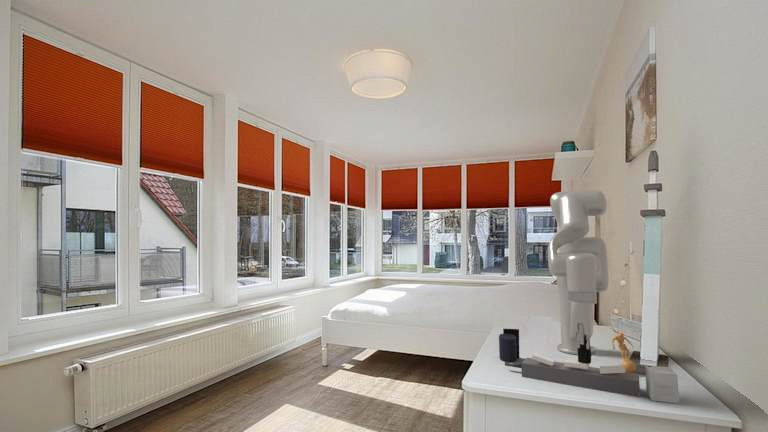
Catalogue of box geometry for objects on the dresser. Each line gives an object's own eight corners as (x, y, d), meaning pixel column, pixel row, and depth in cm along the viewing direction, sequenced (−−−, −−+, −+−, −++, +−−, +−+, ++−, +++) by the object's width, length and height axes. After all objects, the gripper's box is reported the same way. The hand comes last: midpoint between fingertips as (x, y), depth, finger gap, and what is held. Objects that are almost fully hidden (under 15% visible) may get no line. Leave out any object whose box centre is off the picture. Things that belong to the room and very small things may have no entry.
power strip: (508, 367, 130) (508, 353, 130) (639, 388, 110) (638, 372, 110) (502, 373, 124) (501, 358, 124) (639, 397, 104) (638, 380, 104)
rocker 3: (601, 370, 112) (600, 366, 112) (625, 369, 109) (624, 365, 109) (600, 373, 109) (599, 369, 110) (625, 372, 106) (623, 368, 107)
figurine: (624, 376, 119) (622, 336, 120) (607, 370, 125) (605, 332, 126) (644, 373, 122) (642, 334, 123) (626, 368, 128) (624, 330, 129)
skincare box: (679, 404, 99) (678, 374, 100) (651, 400, 101) (649, 371, 102) (673, 395, 105) (671, 367, 105) (645, 392, 107) (644, 364, 107)
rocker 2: (566, 363, 117) (565, 358, 117) (588, 366, 114) (588, 361, 114) (564, 366, 115) (564, 361, 115) (587, 369, 111) (587, 364, 111)
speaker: (503, 354, 143) (503, 326, 143) (519, 357, 140) (519, 328, 140) (496, 361, 137) (496, 332, 137) (513, 365, 134) (513, 335, 133)
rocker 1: (534, 356, 122) (534, 352, 122) (554, 363, 119) (555, 359, 119) (531, 358, 120) (532, 354, 120) (552, 366, 116) (553, 362, 116)
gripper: (571, 293, 123) (574, 354, 121) (563, 299, 110) (565, 367, 109) (599, 295, 119) (602, 358, 117) (593, 301, 106) (596, 371, 105)
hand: (584, 362), depth 113 cm, fingers closed
